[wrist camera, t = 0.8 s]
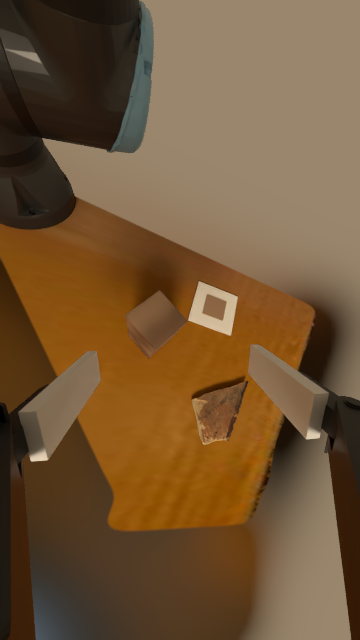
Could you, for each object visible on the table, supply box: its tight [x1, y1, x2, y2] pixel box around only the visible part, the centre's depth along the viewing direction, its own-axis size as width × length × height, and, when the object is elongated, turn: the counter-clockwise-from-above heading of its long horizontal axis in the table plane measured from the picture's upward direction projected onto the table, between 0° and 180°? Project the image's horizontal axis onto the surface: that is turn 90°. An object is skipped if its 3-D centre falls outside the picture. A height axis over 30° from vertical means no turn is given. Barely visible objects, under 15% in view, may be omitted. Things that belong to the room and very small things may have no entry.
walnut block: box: [126, 290, 187, 359], centre depth 24 cm, size 5×5×11 cm
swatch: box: [188, 281, 238, 336], centre depth 34 cm, size 9×9×1 cm
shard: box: [192, 381, 248, 445], centre depth 28 cm, size 11×8×2 cm
